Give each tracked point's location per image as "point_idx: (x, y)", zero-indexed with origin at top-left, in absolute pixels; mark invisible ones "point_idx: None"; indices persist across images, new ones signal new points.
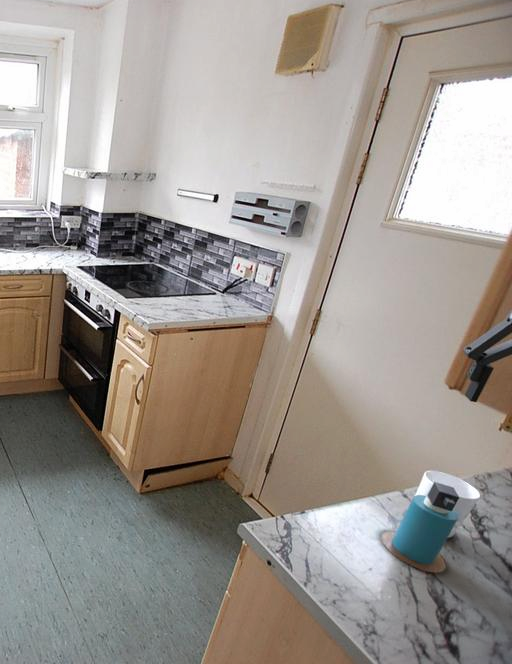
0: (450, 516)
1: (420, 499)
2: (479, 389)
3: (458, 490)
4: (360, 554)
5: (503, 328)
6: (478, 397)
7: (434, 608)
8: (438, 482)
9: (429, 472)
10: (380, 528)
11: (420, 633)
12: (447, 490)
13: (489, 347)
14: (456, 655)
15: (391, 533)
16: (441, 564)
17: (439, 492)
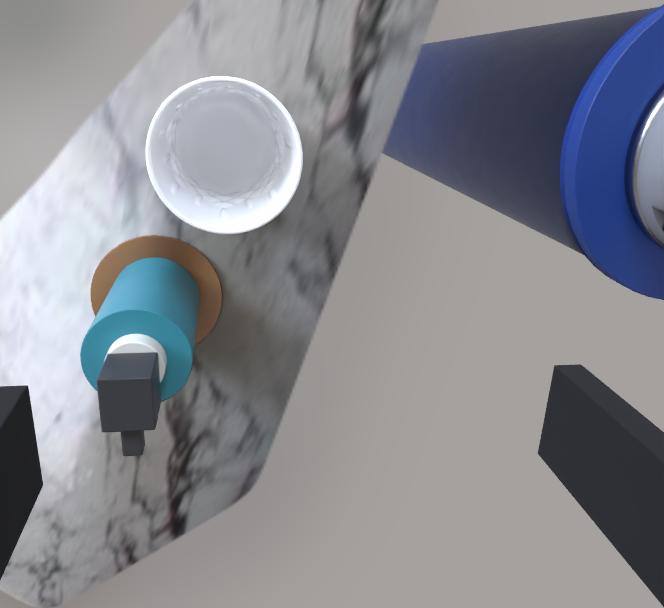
0: (169, 381)
1: (100, 345)
2: None
3: (270, 105)
4: (39, 382)
5: None
6: (31, 508)
7: (168, 452)
8: (217, 84)
9: (170, 103)
10: (92, 243)
11: (132, 525)
12: (127, 410)
13: None
14: (180, 535)
15: (116, 255)
16: (212, 310)
17: (103, 431)
